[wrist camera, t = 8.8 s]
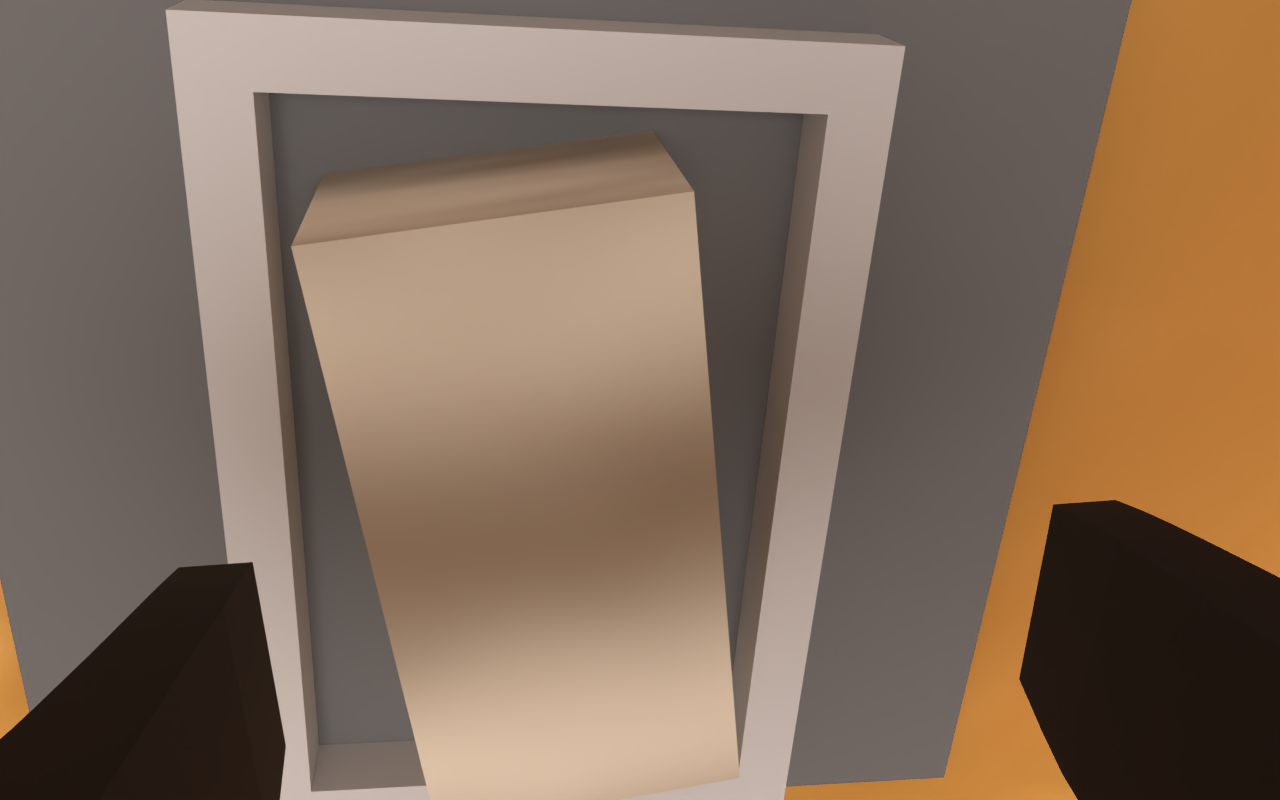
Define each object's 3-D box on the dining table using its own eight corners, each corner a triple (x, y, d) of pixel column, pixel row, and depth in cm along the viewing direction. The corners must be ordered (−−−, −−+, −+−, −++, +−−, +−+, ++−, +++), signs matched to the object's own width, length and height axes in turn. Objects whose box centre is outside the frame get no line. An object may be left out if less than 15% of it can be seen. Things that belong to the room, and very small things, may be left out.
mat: (1388, -1146, 12) (1507, -1276, 11) (936, 764, 24) (965, 820, 23) (-452, -1585, 10) (-611, -1838, 8) (61, 812, 22) (33, 879, 20)
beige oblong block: (700, 644, 22) (740, 778, 18) (442, 688, 21) (438, 832, 18) (652, 130, 17) (694, 191, 14) (324, 173, 17) (290, 246, 14)
